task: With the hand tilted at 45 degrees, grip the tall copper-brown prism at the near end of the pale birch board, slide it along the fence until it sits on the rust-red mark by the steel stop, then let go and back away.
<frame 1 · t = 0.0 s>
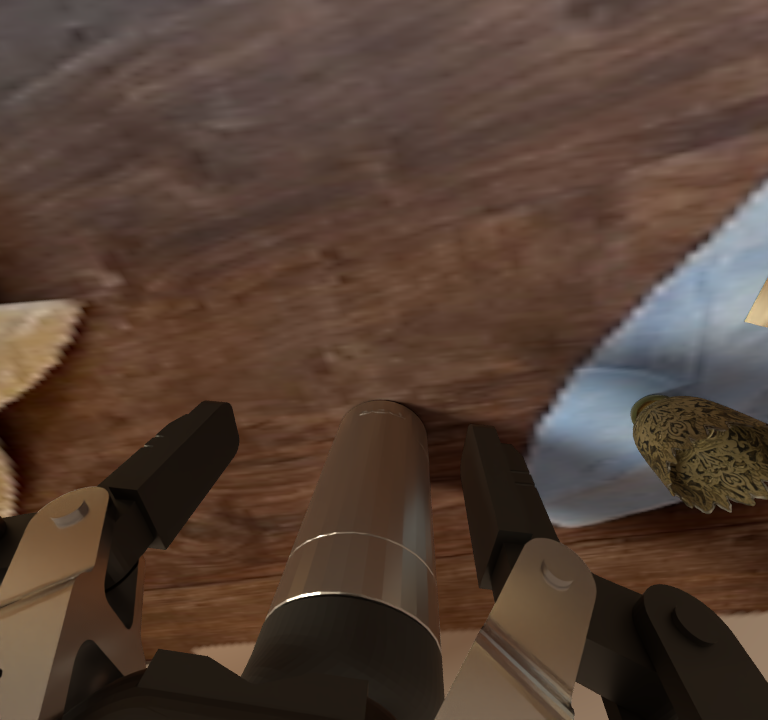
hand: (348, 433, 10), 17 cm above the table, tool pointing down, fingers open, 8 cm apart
olive rounded hollow piece: (646, 407, 27), on the table
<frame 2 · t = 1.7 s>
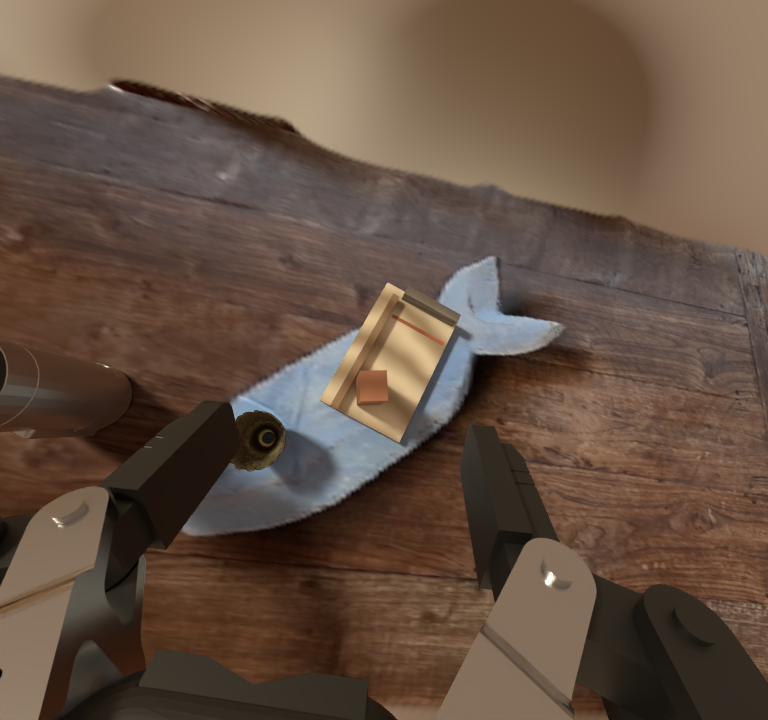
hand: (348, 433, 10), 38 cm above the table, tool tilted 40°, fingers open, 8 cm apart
olive rounded hollow piece: (268, 437, 46), on the table
birch board: (391, 360, 51), on the table
tall copper-brown prism: (370, 389, 43), point 6 cm above the table, slide at 0.0 cm
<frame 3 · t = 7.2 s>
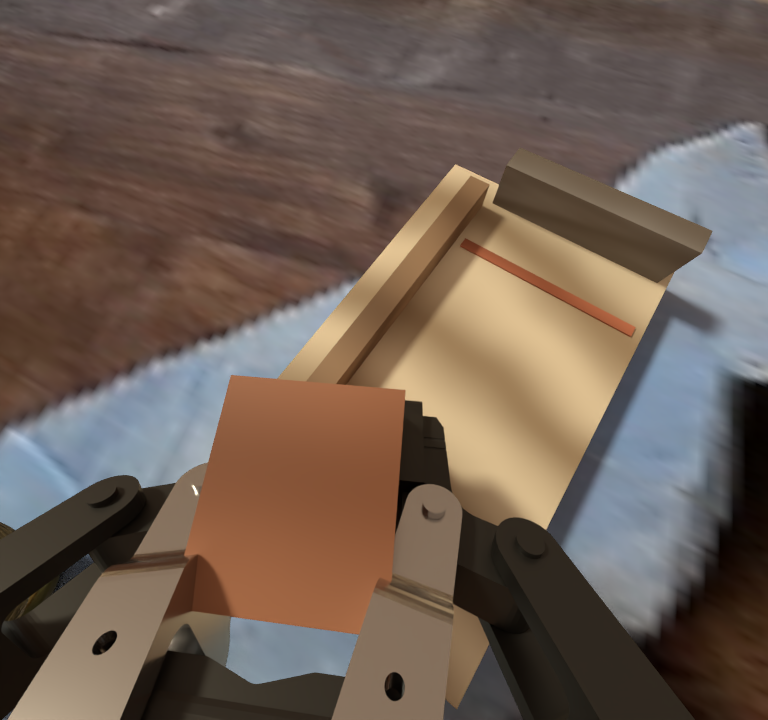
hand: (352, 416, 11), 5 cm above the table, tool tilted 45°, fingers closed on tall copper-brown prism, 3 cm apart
olive rounded hollow piece: (36, 573, 15), on the table
birch board: (450, 371, 17), on the table
tall copper-brown prism: (340, 475, 9), point 6 cm above the table, slide at 0.0 cm, touching gripper
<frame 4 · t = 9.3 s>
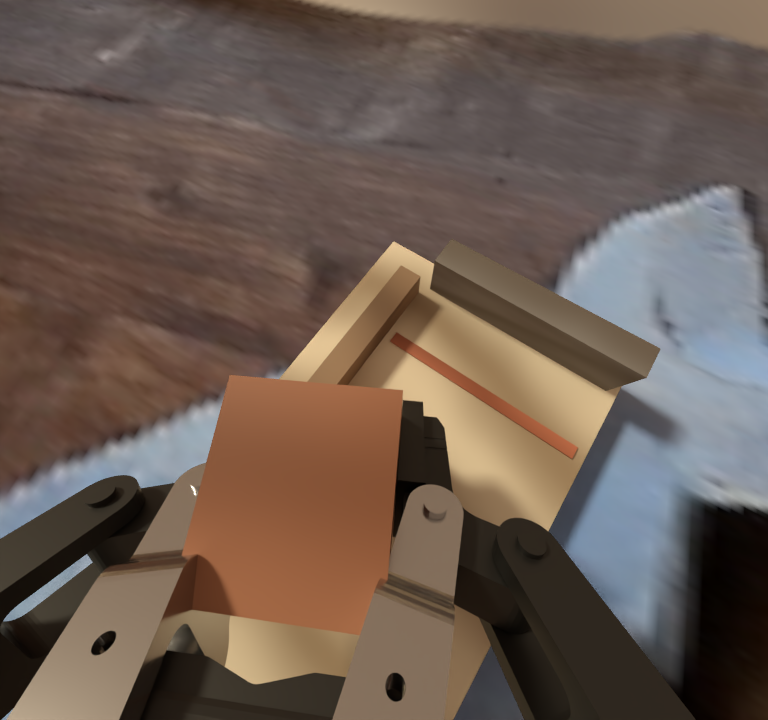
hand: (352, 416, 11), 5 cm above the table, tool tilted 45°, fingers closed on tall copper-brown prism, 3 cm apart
birch board: (376, 484, 15), on the table
tall copper-brown prism: (339, 476, 10), point 6 cm above the table, slide at 7.2 cm, touching gripper
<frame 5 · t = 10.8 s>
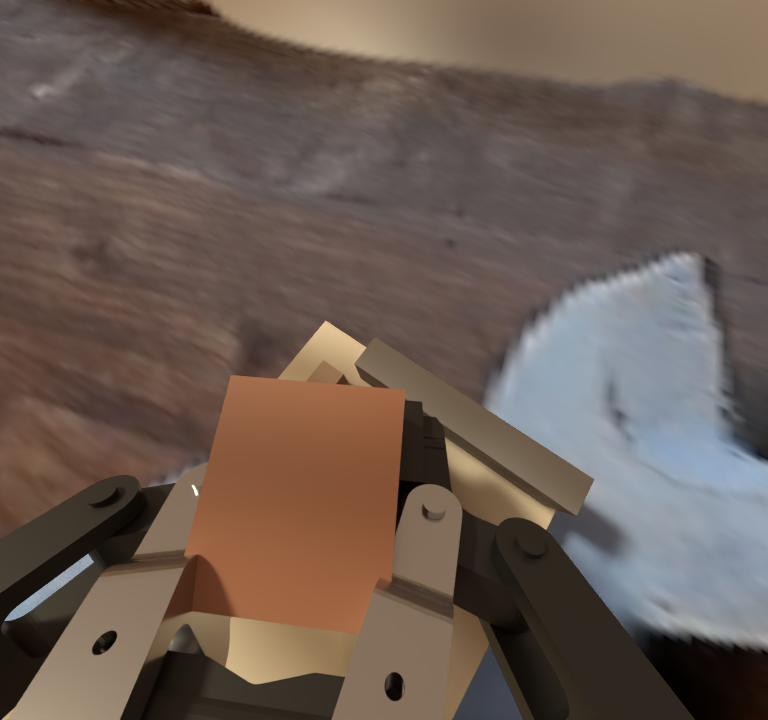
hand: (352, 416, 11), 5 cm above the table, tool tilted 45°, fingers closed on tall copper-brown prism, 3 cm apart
birch board: (293, 606, 14), on the table
tall copper-brown prism: (340, 476, 9), point 6 cm above the table, slide at 13.4 cm, touching gripper
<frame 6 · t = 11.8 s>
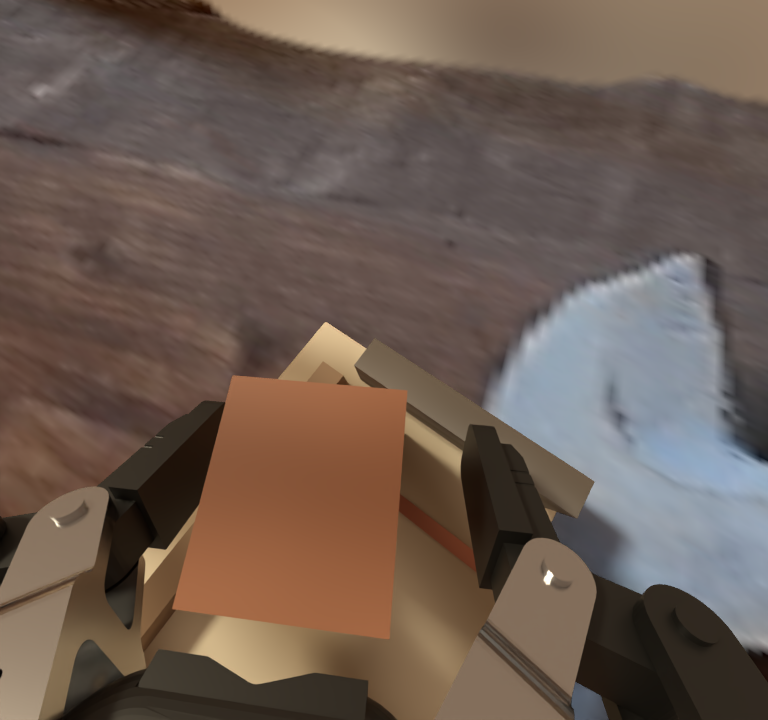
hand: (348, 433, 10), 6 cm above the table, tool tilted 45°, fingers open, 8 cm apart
birch board: (293, 607, 14), on the table
tall copper-brown prism: (341, 476, 9), point 6 cm above the table, slide at 13.5 cm
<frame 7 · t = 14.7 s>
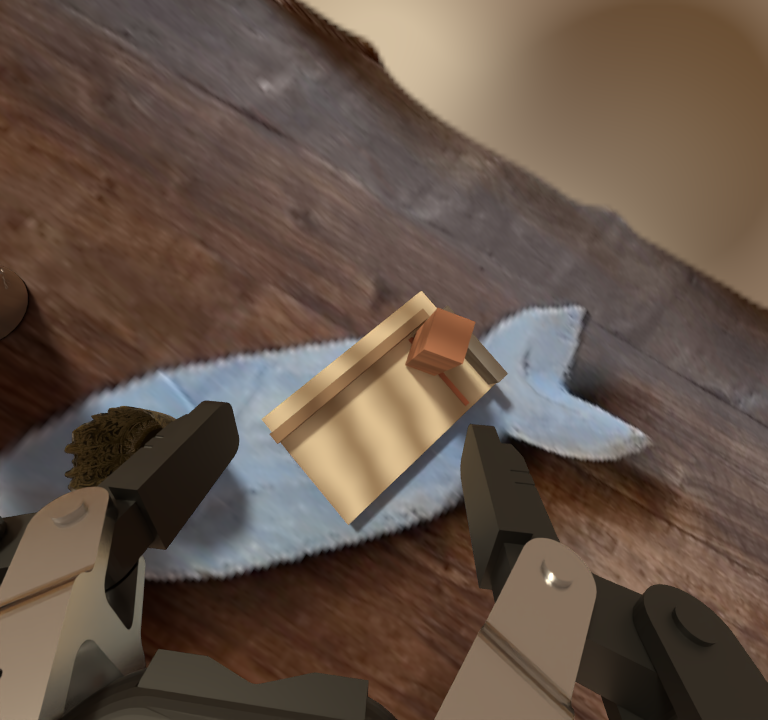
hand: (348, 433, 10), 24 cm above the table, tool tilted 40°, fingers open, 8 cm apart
olive rounded hollow piece: (173, 444, 31), on the table
birch board: (386, 398, 35), on the table
tall copper-brown prism: (435, 346, 30), point 6 cm above the table, slide at 13.5 cm
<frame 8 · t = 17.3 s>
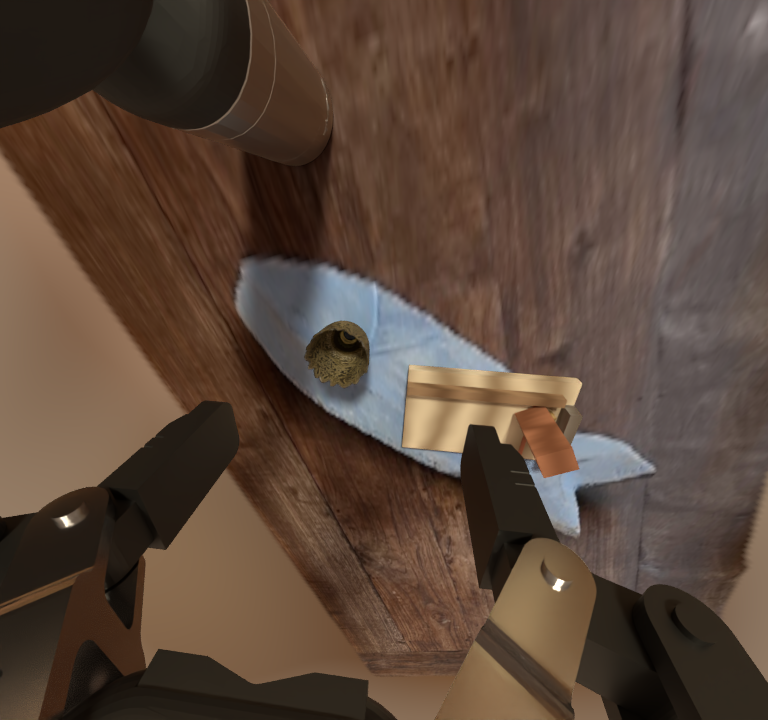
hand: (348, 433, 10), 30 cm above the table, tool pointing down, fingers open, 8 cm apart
olive rounded hollow piece: (350, 333, 42), on the table
birch board: (482, 412, 45), on the table
tall copper-brown prism: (543, 438, 39), point 6 cm above the table, slide at 13.5 cm
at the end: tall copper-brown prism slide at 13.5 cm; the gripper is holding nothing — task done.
